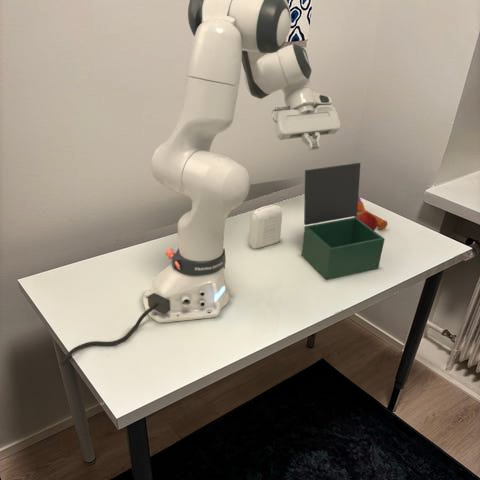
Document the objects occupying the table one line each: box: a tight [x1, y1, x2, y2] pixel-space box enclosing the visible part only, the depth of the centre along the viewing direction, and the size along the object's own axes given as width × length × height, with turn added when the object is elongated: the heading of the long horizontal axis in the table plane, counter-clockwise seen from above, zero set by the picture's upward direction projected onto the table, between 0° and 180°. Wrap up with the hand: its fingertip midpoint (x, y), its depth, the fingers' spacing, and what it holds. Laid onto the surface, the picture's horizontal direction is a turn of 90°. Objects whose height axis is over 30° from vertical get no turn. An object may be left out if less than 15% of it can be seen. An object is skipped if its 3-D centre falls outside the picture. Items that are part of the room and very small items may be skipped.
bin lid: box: [303, 162, 361, 226], centre depth 145 cm, size 15×18×1 cm
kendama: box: [357, 195, 388, 231], centre depth 172 cm, size 6×6×20 cm
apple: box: [354, 212, 377, 231], centre depth 161 cm, size 8×8×8 cm
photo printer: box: [249, 204, 283, 249], centre depth 153 cm, size 10×4×12 cm, turn 123°
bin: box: [300, 216, 386, 281], centre depth 146 cm, size 15×18×10 cm
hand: (314, 148), depth 148 cm, fingers closed
